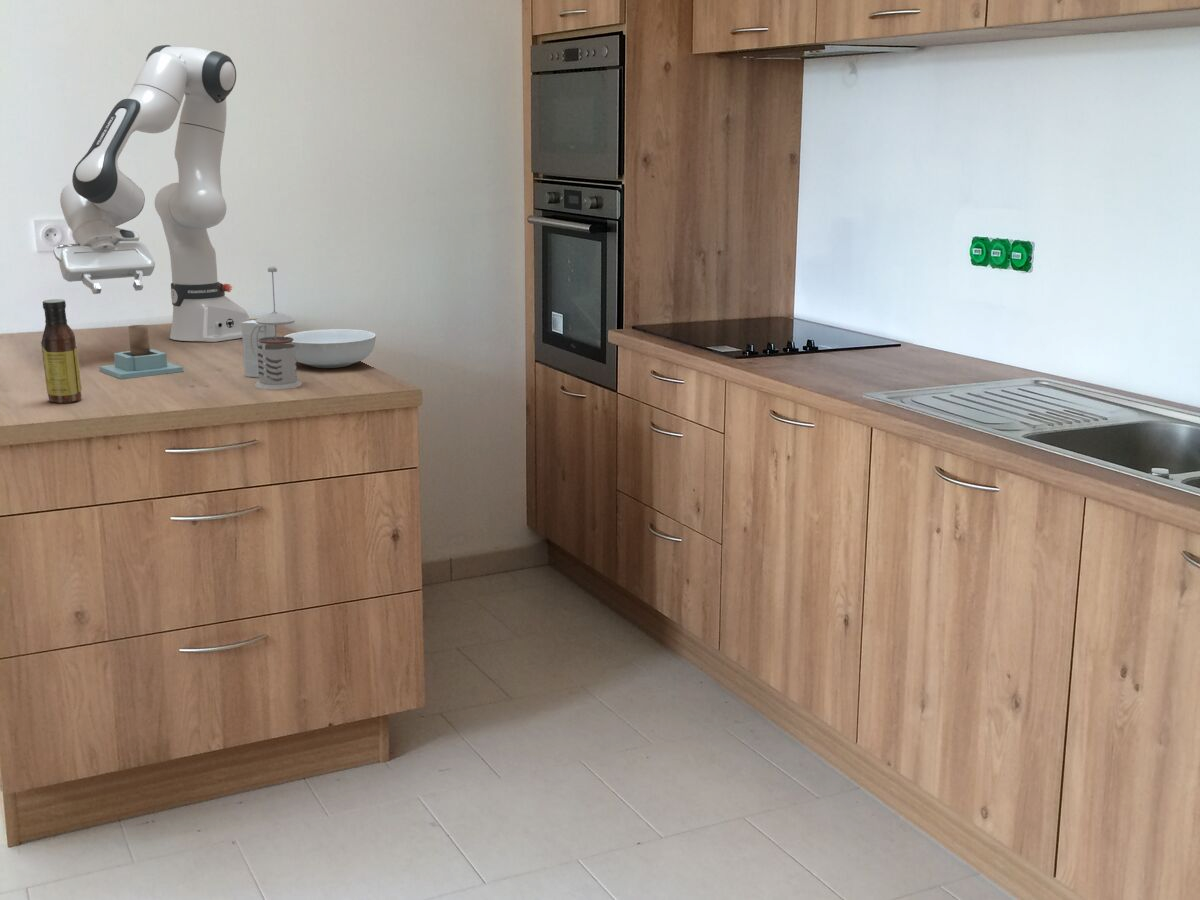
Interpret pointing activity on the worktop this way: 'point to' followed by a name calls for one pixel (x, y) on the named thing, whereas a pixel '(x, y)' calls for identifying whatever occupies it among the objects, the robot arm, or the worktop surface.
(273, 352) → the french press
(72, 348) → the sauce bottle
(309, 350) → the serving bowl
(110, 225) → the robot arm
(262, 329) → the skincare box
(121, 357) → the holder
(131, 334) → the brown cylinder
